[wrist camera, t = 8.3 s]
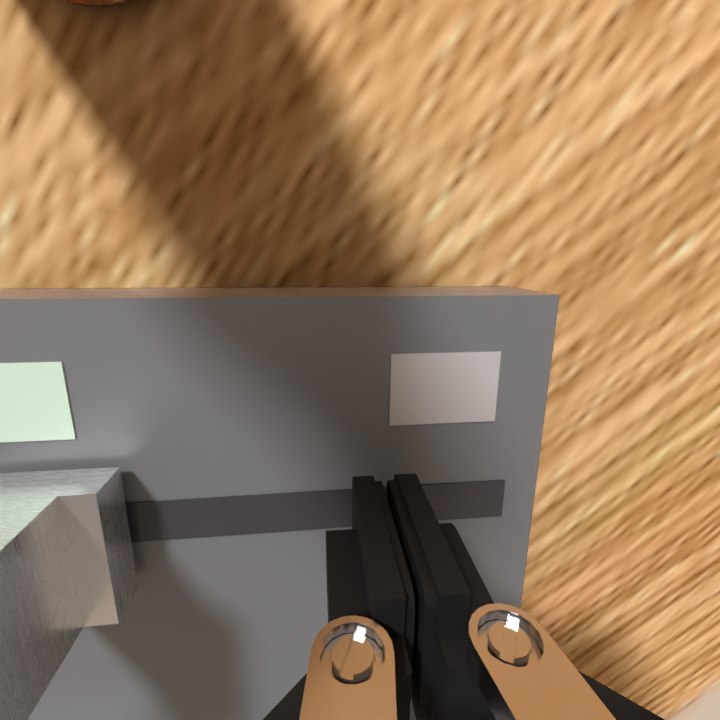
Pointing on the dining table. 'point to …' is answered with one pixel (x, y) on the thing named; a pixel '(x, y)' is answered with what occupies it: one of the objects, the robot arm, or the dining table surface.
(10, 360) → the control panel
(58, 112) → the dining table surface
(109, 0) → the sauce bottle
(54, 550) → the slider knob
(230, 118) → the dining table surface
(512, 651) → the robot arm
